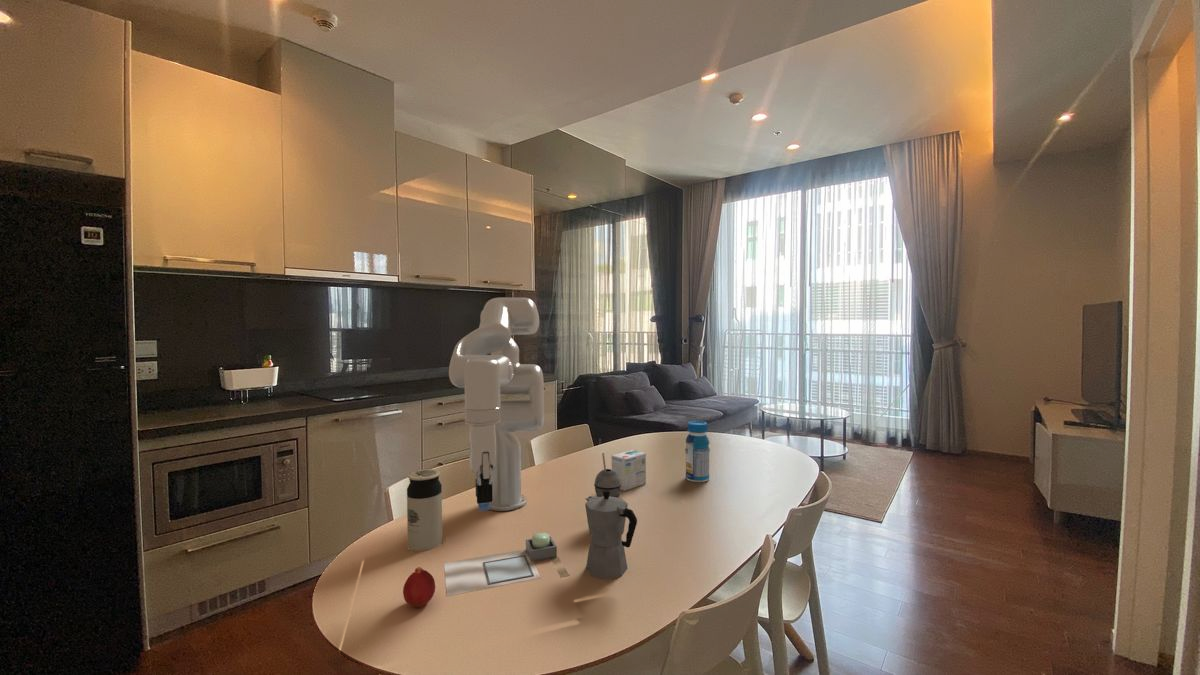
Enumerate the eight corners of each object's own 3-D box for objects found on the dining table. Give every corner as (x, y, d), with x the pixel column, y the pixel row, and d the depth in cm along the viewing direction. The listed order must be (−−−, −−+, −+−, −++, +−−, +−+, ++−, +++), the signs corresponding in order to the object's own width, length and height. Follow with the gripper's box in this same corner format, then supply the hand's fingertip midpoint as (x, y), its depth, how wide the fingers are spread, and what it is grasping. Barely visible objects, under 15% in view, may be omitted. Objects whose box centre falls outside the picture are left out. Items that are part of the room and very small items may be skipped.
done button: (530, 544, 112) (530, 534, 112) (547, 541, 113) (547, 531, 113) (534, 551, 108) (534, 541, 108) (551, 548, 110) (551, 538, 110)
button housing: (525, 550, 113) (525, 539, 113) (550, 546, 115) (550, 535, 115) (531, 562, 107) (531, 550, 107) (556, 557, 109) (556, 546, 109)
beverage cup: (619, 534, 123) (618, 457, 122) (591, 531, 124) (591, 456, 124) (623, 522, 130) (623, 450, 129) (597, 520, 131) (596, 449, 131)
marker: (476, 507, 104) (475, 462, 104) (490, 505, 105) (489, 461, 105) (477, 512, 101) (476, 466, 101) (492, 510, 102) (491, 465, 102)
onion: (409, 599, 94) (408, 559, 93) (438, 598, 94) (438, 558, 94) (399, 617, 88) (398, 575, 88) (430, 616, 88) (430, 573, 88)
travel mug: (433, 535, 122) (432, 466, 122) (448, 546, 116) (447, 473, 116) (402, 546, 117) (401, 473, 116) (416, 557, 111) (415, 481, 111)
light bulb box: (632, 479, 167) (632, 449, 166) (646, 484, 162) (646, 452, 162) (610, 486, 160) (610, 454, 159) (625, 491, 155) (624, 458, 154)
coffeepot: (571, 567, 106) (570, 487, 105) (601, 553, 112) (601, 478, 112) (620, 595, 95) (620, 506, 94) (651, 578, 101) (651, 494, 101)
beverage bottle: (704, 484, 161) (704, 426, 160) (681, 480, 165) (681, 423, 165) (713, 477, 168) (713, 421, 167) (690, 473, 172) (690, 419, 172)
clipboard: (439, 564, 107) (439, 561, 107) (550, 545, 116) (550, 542, 116) (441, 603, 92) (441, 598, 92) (569, 578, 101) (569, 574, 101)
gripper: (462, 409, 109) (464, 488, 109) (467, 424, 93) (468, 516, 94) (496, 407, 111) (497, 484, 112) (505, 421, 96) (506, 511, 96)
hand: (484, 498), depth 103 cm, fingers closed on marker, 3 cm apart
